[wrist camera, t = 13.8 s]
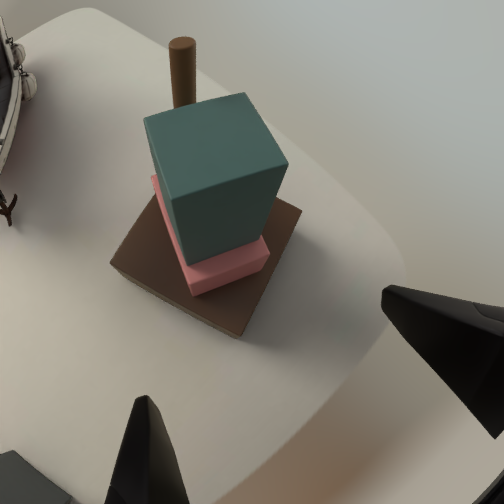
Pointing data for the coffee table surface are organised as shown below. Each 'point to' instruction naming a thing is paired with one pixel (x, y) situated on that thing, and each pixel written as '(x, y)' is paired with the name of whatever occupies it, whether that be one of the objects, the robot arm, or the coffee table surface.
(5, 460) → the grey rectangular block
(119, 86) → the coffee table surface
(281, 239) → the walnut block
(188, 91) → the peg stacking toy
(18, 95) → the toy boat
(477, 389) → the robot arm
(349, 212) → the coffee table surface
